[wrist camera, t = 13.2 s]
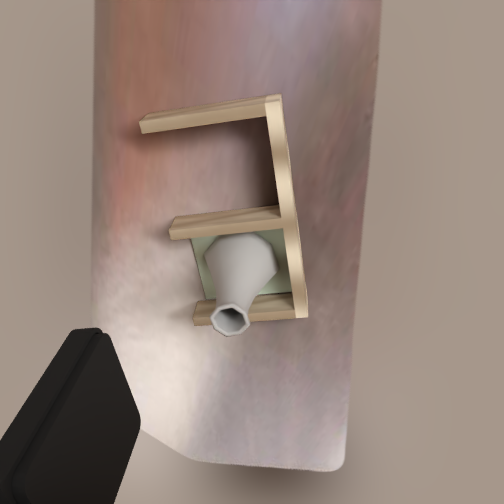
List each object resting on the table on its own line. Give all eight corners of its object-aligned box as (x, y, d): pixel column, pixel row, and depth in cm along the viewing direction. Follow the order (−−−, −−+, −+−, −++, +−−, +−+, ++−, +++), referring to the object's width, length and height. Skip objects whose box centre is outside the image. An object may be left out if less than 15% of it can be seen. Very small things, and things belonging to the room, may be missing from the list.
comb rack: (148, 113, 42) (138, 121, 39) (281, 93, 40) (279, 100, 37) (199, 308, 52) (194, 326, 49) (307, 299, 50) (308, 317, 47)
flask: (234, 300, 50) (220, 367, 42) (191, 250, 48) (168, 309, 39) (292, 269, 48) (290, 333, 39) (250, 214, 45) (239, 269, 37)
